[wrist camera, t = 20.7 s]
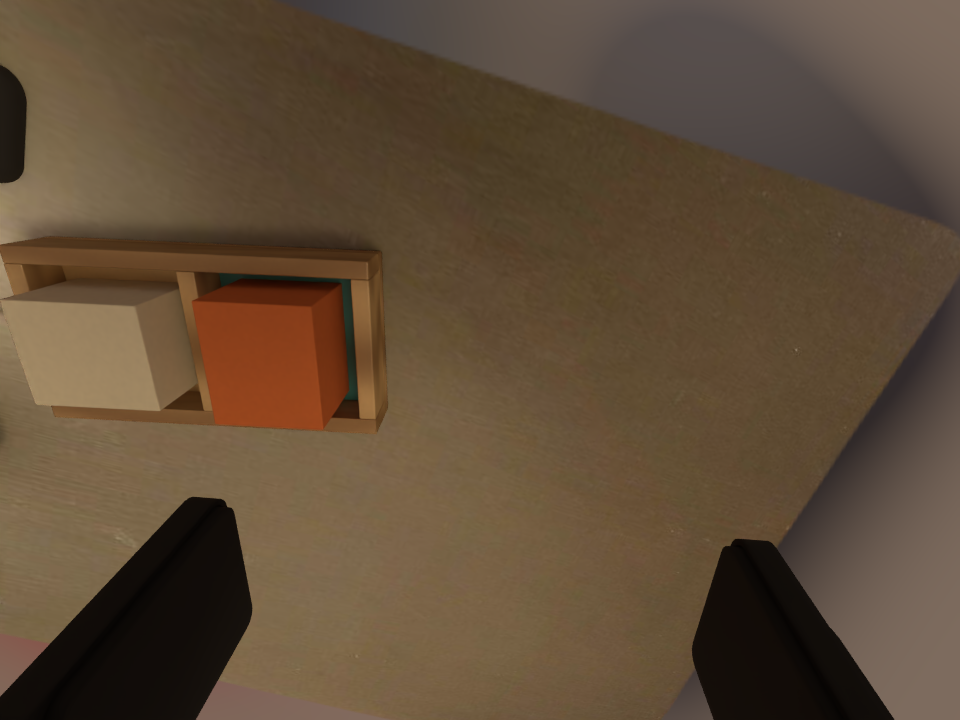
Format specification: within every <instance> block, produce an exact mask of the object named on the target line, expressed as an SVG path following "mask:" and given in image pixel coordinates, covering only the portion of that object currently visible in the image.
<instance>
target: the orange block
mask: <svg viewBox="0 0 960 720" xmlns="http://www.w3.org/2000/svg"><path fill="white" fill-rule="evenodd" d="M192 307H193V312H194V317H195V322H196V327H197V332H198V338H199V343H200V348H201V353H202V358H203V363H204V369H205V374H206V379H207V384H208V389H209V394H210V399H211V405H212V410H213V415H214V420H215V424H221V425H240V426H258V427H277V428H296V429H314V430H323V429H324V428H325V426H326V425H327V423H328V422H329V420H330V419H331V417H332V416H333V414H334V413H335V411H336V410H337V408H338V407H339V405H340V404H341V402H342V401H343V399H344V398H345V396H346V394H347V393H348V391H349V378H348V364H347V350H346V337H345V323H344V309H343V295H342V284H341V283H329V282H308V281H286V280H265V279H244V278H241V279H239V280H237V281H235V282H232V283H230V284H228V285H226V286H223V287H221V288H219V289H217V290H215V291H212V292H210V293H208V294H206V295H204V296H201V297H199V298H197V299H195V300H192Z"/></svg>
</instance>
